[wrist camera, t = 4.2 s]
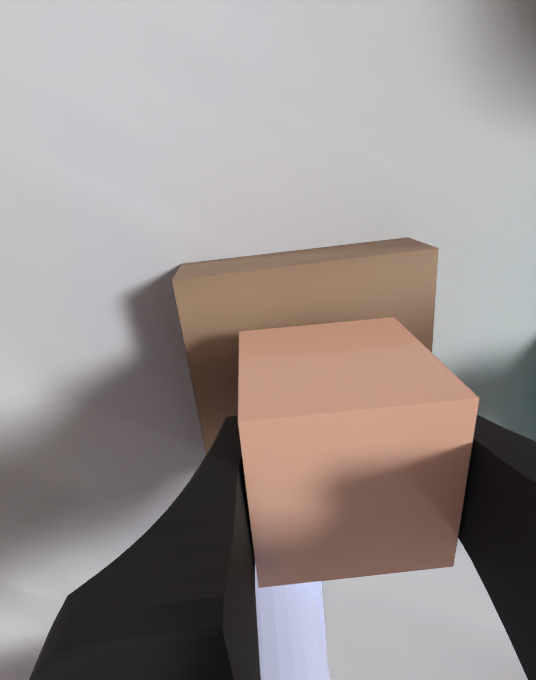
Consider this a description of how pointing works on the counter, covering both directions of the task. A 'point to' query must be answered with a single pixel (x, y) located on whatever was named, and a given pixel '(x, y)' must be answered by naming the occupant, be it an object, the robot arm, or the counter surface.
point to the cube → (351, 451)
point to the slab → (294, 305)
